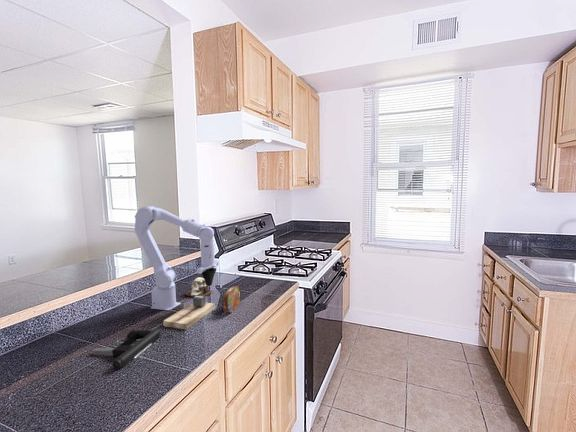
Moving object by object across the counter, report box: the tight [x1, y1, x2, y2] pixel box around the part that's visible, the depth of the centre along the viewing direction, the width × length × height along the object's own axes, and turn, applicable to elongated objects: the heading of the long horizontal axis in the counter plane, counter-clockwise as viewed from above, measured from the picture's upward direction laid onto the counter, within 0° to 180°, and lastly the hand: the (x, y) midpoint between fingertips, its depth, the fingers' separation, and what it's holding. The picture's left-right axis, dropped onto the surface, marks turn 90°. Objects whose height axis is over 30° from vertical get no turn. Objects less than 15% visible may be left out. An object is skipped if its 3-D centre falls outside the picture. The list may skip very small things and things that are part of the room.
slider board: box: [163, 302, 216, 330], centre depth 123 cm, size 10×20×2 cm, turn 163°
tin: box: [222, 285, 242, 313], centre depth 130 cm, size 15×3×8 cm, turn 168°
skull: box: [185, 276, 213, 298], centre depth 149 cm, size 12×10×10 cm
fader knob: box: [192, 295, 207, 307], centre depth 128 cm, size 4×3×4 cm
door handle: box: [91, 328, 161, 370], centre depth 99 cm, size 3×20×16 cm
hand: (209, 285), depth 135 cm, fingers closed
